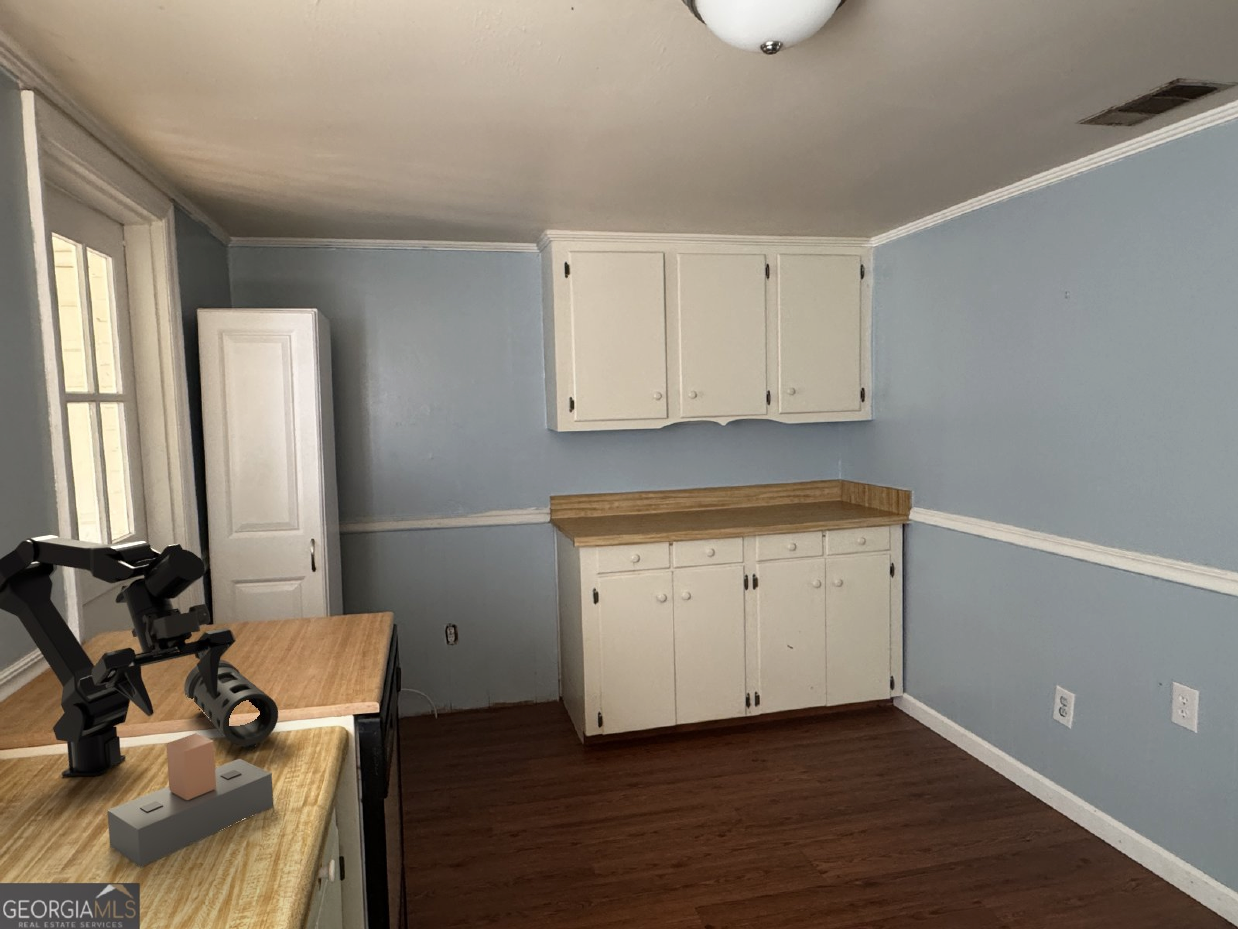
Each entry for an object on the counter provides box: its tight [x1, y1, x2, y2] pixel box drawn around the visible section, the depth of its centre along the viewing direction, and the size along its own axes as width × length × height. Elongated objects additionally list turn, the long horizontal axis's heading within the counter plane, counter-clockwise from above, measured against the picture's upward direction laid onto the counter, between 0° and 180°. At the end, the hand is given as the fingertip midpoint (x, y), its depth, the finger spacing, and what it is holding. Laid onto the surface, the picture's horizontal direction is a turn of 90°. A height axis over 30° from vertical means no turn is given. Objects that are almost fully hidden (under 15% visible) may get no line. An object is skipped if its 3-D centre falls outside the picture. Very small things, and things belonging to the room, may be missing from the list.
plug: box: [165, 732, 216, 800], centre depth 107 cm, size 5×4×11 cm
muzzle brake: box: [183, 658, 279, 751], centre depth 142 cm, size 10×28×10 cm, turn 42°
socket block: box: [107, 758, 274, 869], centre depth 107 cm, size 9×18×5 cm, turn 145°
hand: (183, 705), depth 115 cm, fingers open, 9 cm apart
